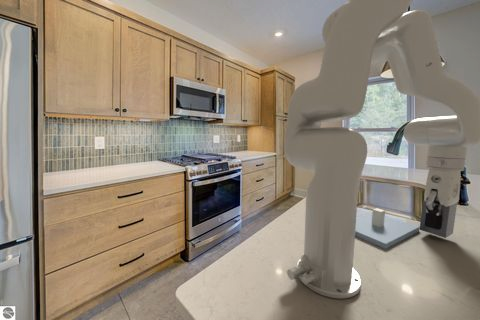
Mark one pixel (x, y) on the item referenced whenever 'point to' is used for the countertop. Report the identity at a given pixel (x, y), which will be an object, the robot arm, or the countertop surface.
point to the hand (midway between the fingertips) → (436, 224)
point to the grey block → (446, 221)
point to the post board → (382, 229)
